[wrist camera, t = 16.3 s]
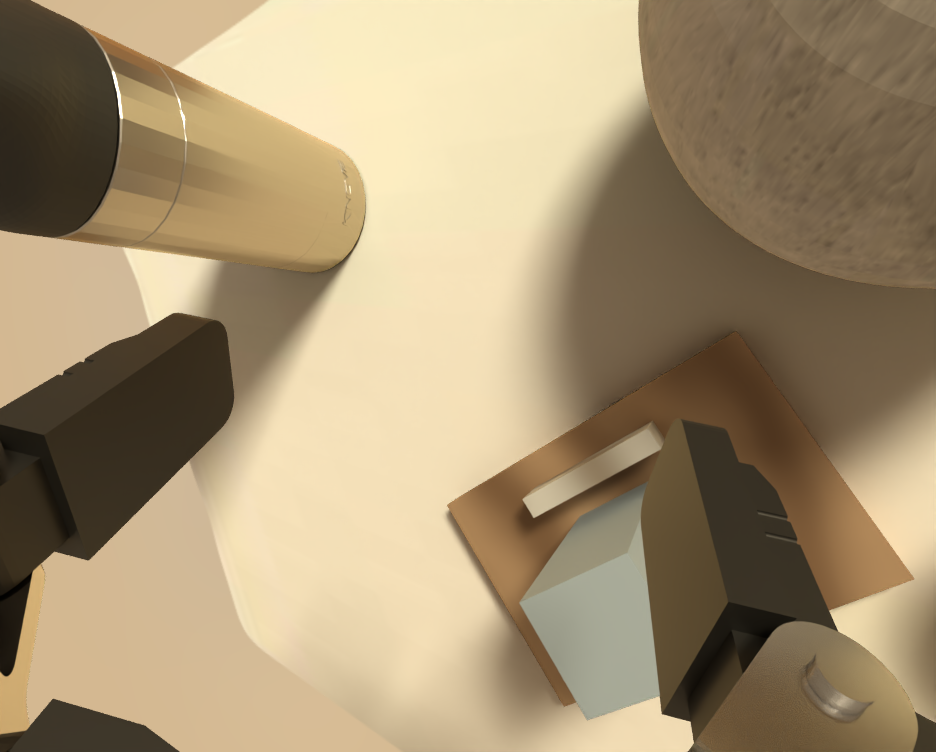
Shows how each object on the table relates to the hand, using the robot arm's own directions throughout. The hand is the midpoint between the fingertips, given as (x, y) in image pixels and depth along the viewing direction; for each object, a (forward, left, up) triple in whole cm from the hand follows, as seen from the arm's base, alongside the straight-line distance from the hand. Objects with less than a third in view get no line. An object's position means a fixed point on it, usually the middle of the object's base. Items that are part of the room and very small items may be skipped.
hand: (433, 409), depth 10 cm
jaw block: (+1, -10, -22) cm, 25 cm away
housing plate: (+1, -10, -24) cm, 26 cm away
